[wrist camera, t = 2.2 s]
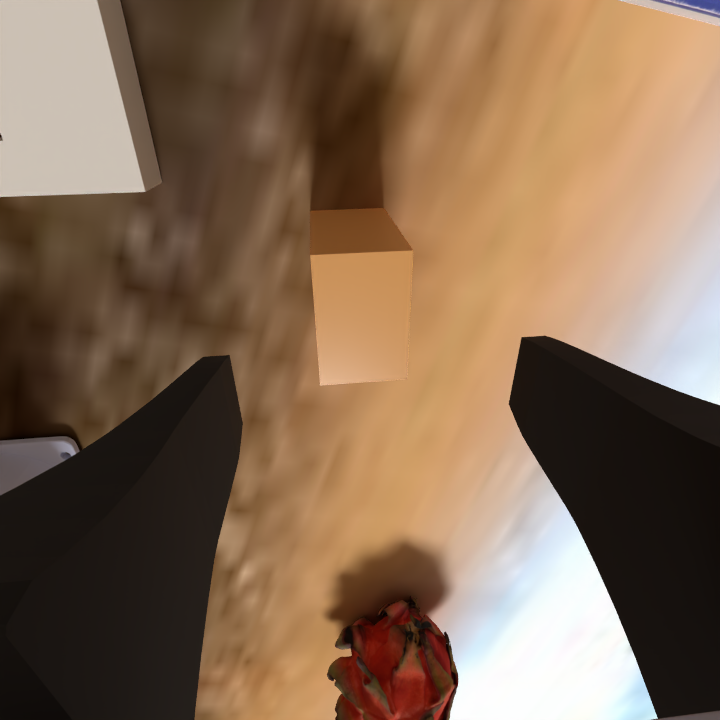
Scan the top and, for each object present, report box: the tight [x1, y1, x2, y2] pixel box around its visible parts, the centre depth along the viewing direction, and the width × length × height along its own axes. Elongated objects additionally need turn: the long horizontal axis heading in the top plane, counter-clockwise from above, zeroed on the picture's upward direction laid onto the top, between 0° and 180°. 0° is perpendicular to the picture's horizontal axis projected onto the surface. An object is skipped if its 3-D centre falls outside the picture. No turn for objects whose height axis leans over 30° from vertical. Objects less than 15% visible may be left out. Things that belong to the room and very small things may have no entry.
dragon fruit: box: [327, 596, 458, 720], centre depth 31 cm, size 8×8×12 cm
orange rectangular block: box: [310, 208, 413, 385], centre depth 16 cm, size 4×3×6 cm, turn 1°
